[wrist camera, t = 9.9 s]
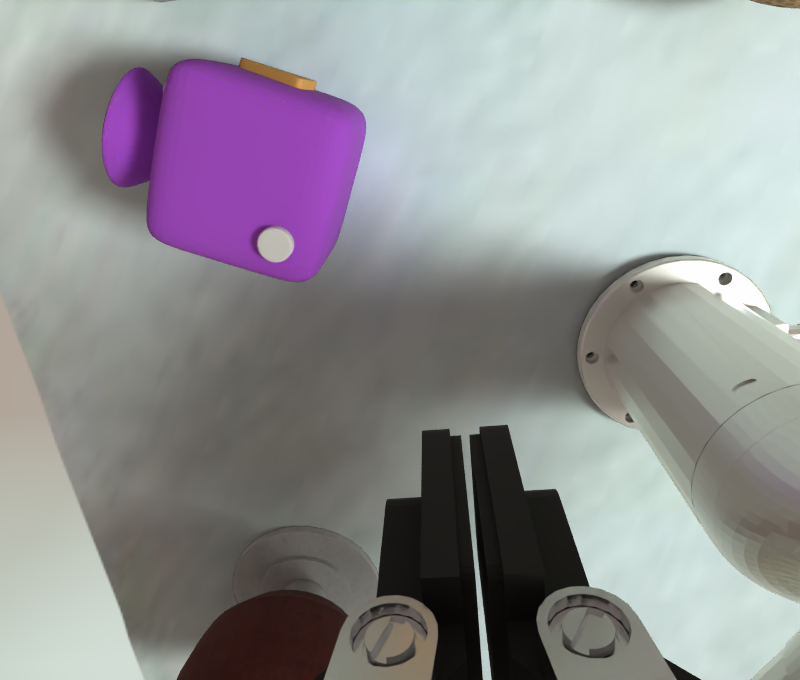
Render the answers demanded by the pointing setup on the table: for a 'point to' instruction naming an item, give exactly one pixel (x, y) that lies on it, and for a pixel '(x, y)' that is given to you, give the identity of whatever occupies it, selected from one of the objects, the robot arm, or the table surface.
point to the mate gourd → (285, 608)
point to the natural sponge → (780, 3)
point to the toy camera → (237, 162)
